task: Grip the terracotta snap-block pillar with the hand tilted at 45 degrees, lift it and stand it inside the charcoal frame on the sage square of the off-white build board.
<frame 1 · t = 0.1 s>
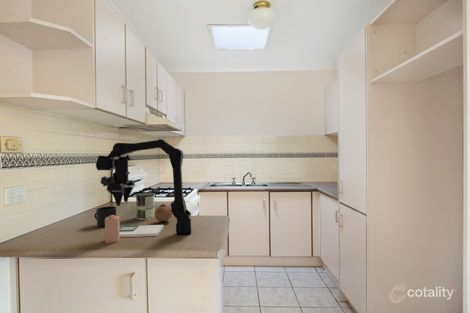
hand: (122, 203, 119), 15 cm above the countertop, tool pointing down, fingers open, 9 cm apart
onion: (163, 222, 141), on the countertop
build board: (139, 232, 124), on the countertop
coffee can: (145, 217, 152), on the countertop
mug: (104, 225, 138), on the countertop
pillar: (112, 240, 112), on the countertop
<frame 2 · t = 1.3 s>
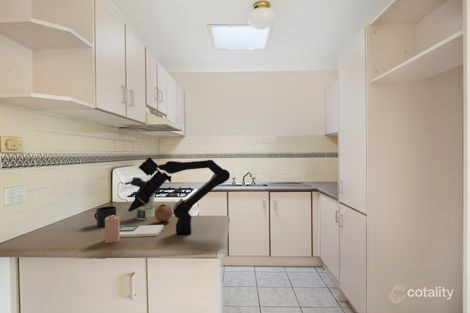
hand: (129, 208, 114), 13 cm above the countertop, tool tilted 45°, fingers open, 9 cm apart
nothing on the countertop moved.
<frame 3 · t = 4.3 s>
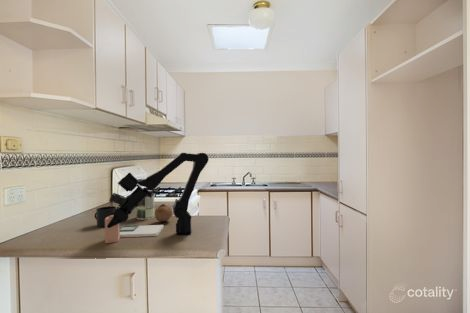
hand: (108, 225, 112), 7 cm above the countertop, tool tilted 45°, fingers closed on pillar, 5 cm apart
pillar: (112, 240, 112), on the countertop, touching gripper
everything else where it was.
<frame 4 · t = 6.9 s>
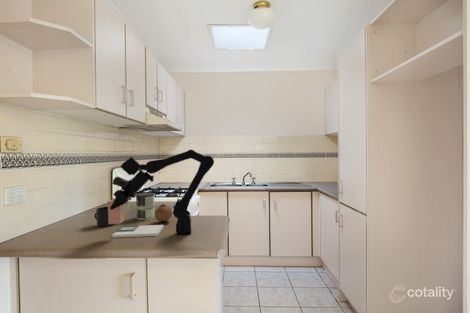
hand: (112, 207, 116), 13 cm above the countertop, tool tilted 45°, fingers closed on pillar, 5 cm apart
pillar: (116, 222, 116), point 7 cm above the countertop, touching gripper
everything else where it was.
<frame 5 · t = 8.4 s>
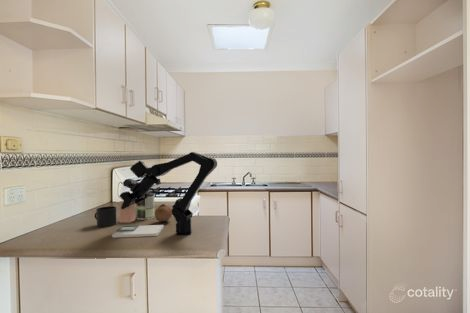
hand: (124, 207, 125), 12 cm above the countertop, tool tilted 45°, fingers closed on pillar, 5 cm apart
pillar: (127, 221, 125), point 5 cm above the countertop, touching gripper
everything else where it was.
when the fingers open (9 cm above the countertop, at t = 9.6 s): pillar drops 1 cm, resting on build board.
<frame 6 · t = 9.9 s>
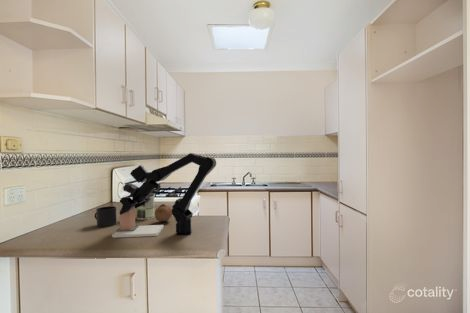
hand: (124, 212, 125), 9 cm above the countertop, tool tilted 45°, fingers open, 8 cm apart
pillar: (127, 228, 125), point 1 cm above the countertop, touching build board
everything else where it was.
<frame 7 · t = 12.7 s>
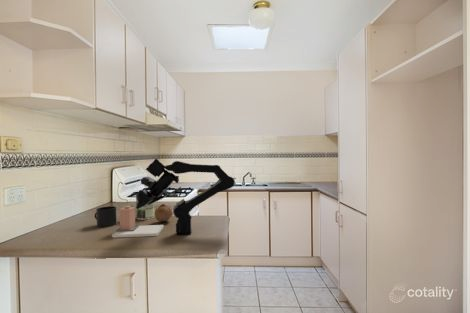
hand: (142, 206, 121), 13 cm above the countertop, tool tilted 45°, fingers open, 9 cm apart
nothing on the countertop moved.
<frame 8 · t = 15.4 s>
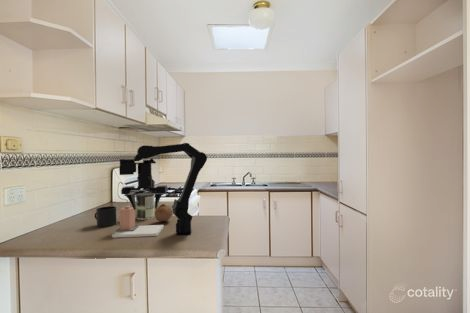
hand: (145, 209, 114), 13 cm above the countertop, tool pointing down, fingers open, 9 cm apart
nothing on the countertop moved.
at the end: pillar 0.0 cm from the target spot on the build board, point 1.3 cm above the build board's base; pillar tilted 0°; the gripper is holding nothing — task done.
